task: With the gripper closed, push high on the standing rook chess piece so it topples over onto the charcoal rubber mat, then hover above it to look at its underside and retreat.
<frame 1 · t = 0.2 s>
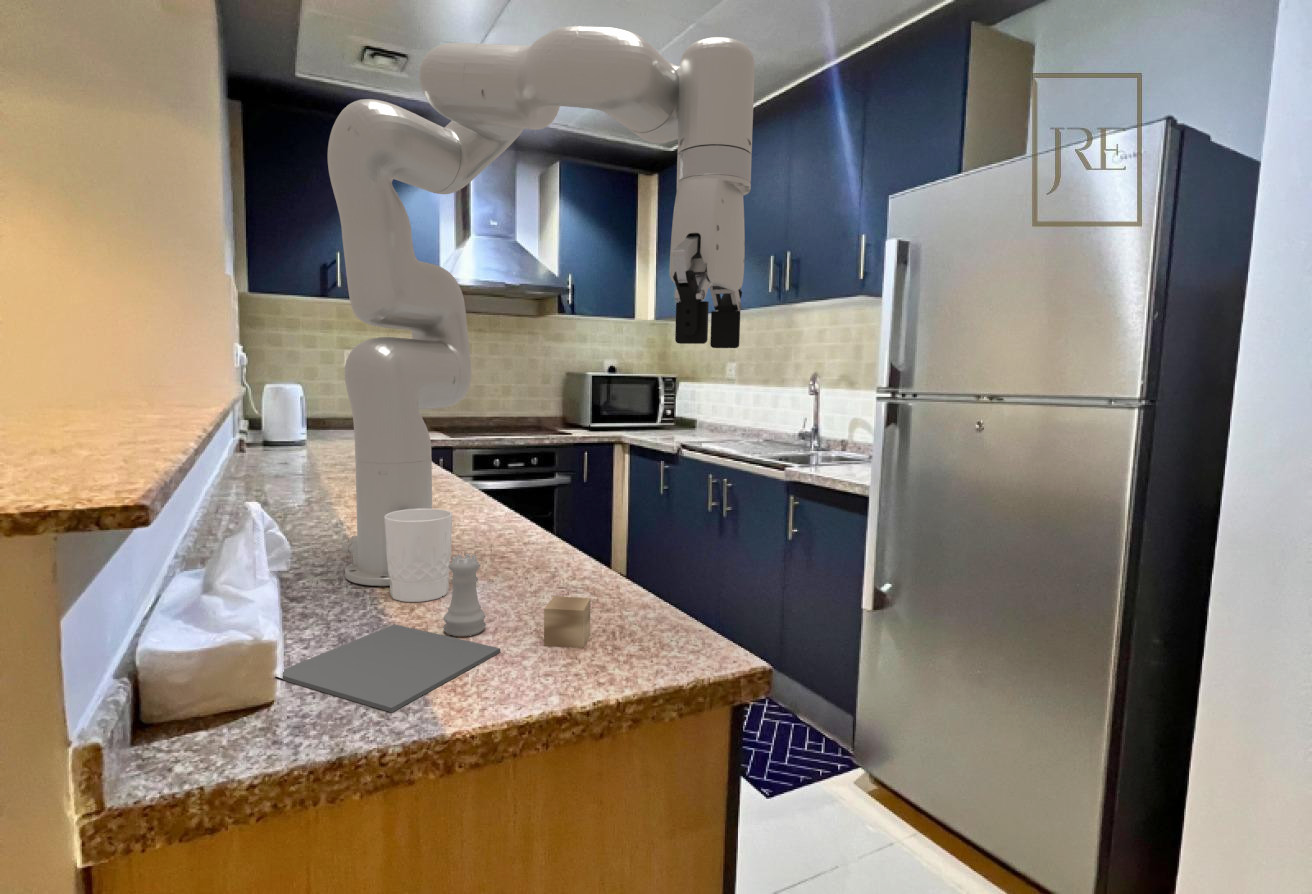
hand: (708, 345, 73), 31 cm above the counter, tool pointing down, fingers open, 9 cm apart
white cup: (419, 595, 86), on the counter
mat: (393, 664, 66), on the counter
rook chess piece: (464, 632, 75), on the counter
oak block: (567, 640, 73), on the counter
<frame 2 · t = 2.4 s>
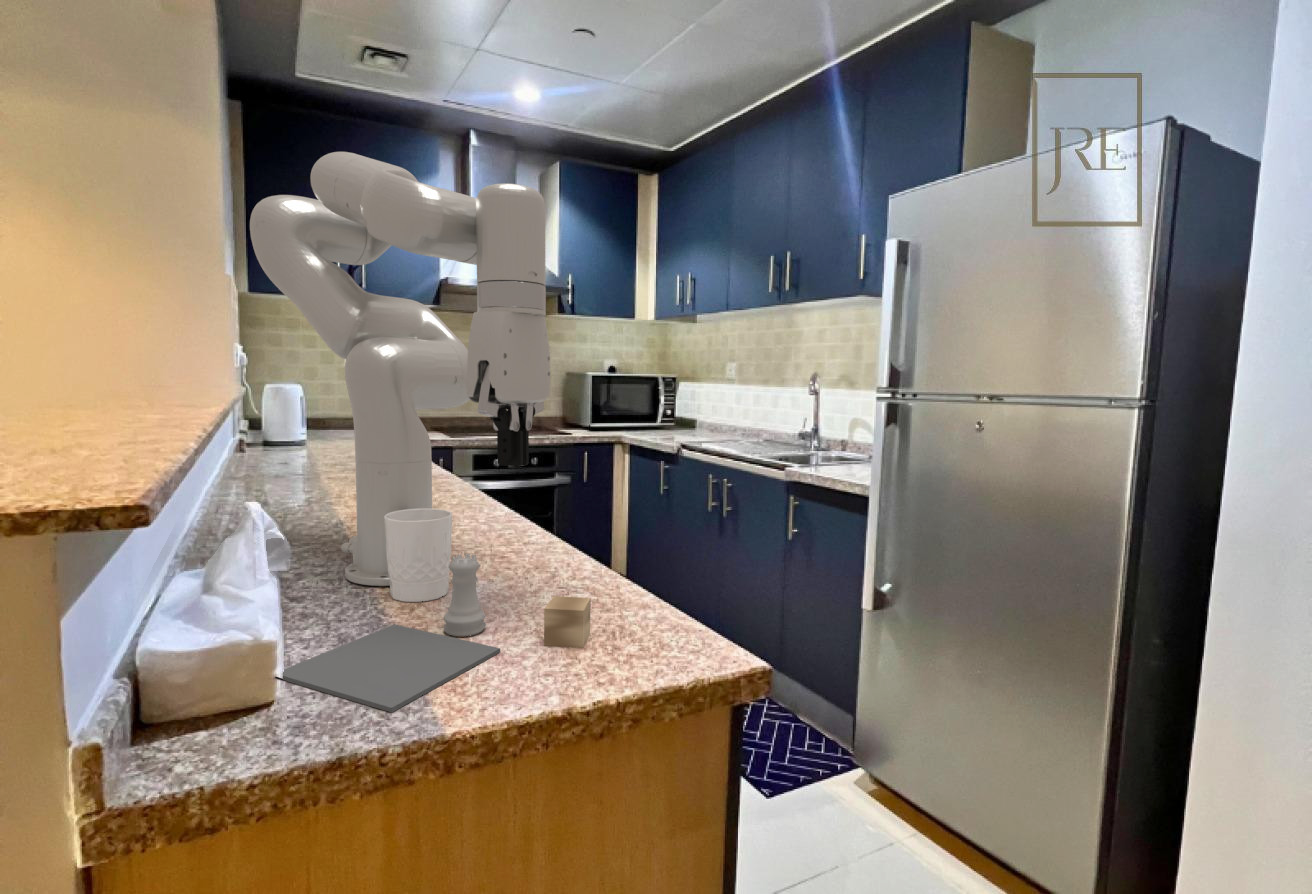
hand: (513, 464, 80), 17 cm above the counter, tool pointing down, fingers closed
nothing on the counter moved.
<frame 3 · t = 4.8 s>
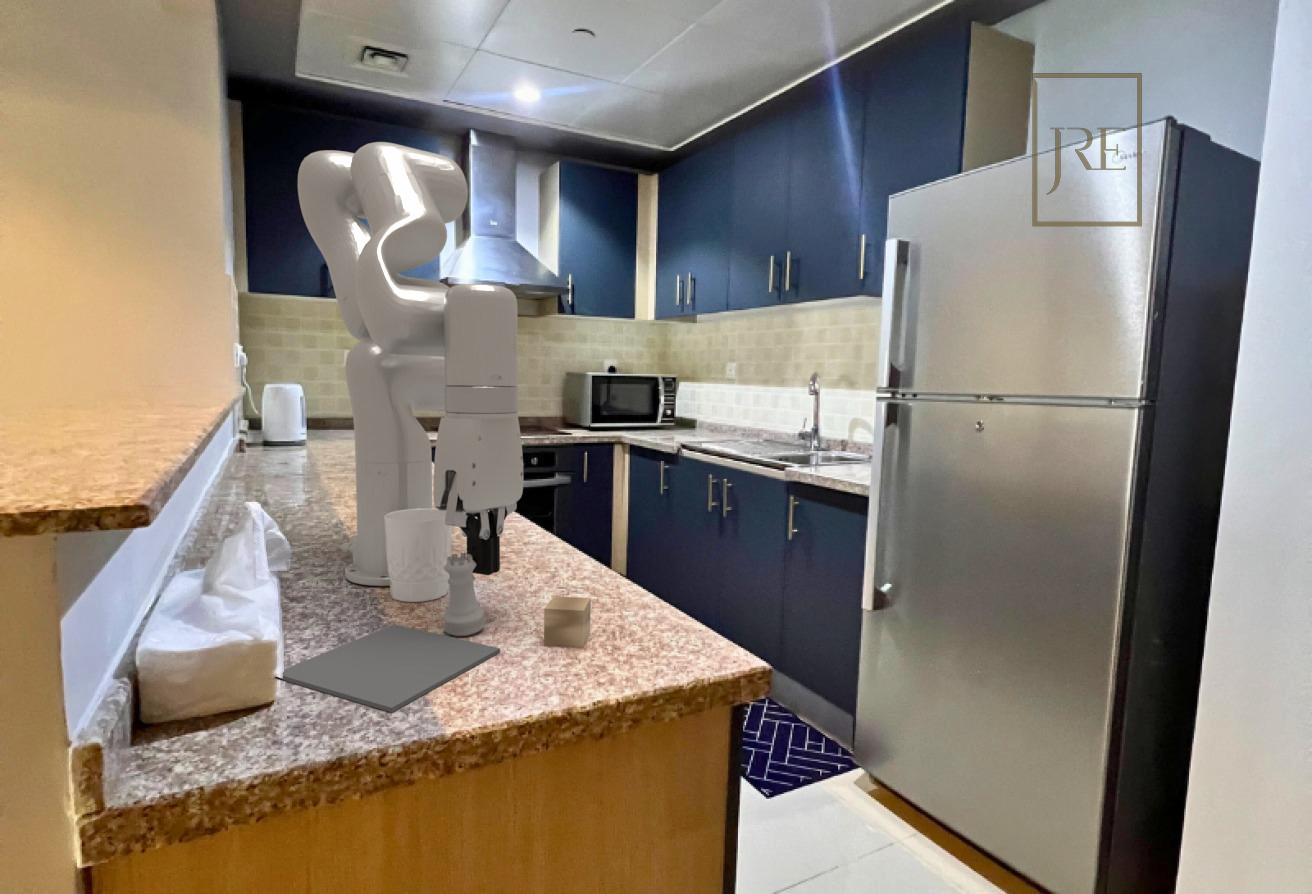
hand: (483, 571, 76), 6 cm above the counter, tool pointing down, fingers closed
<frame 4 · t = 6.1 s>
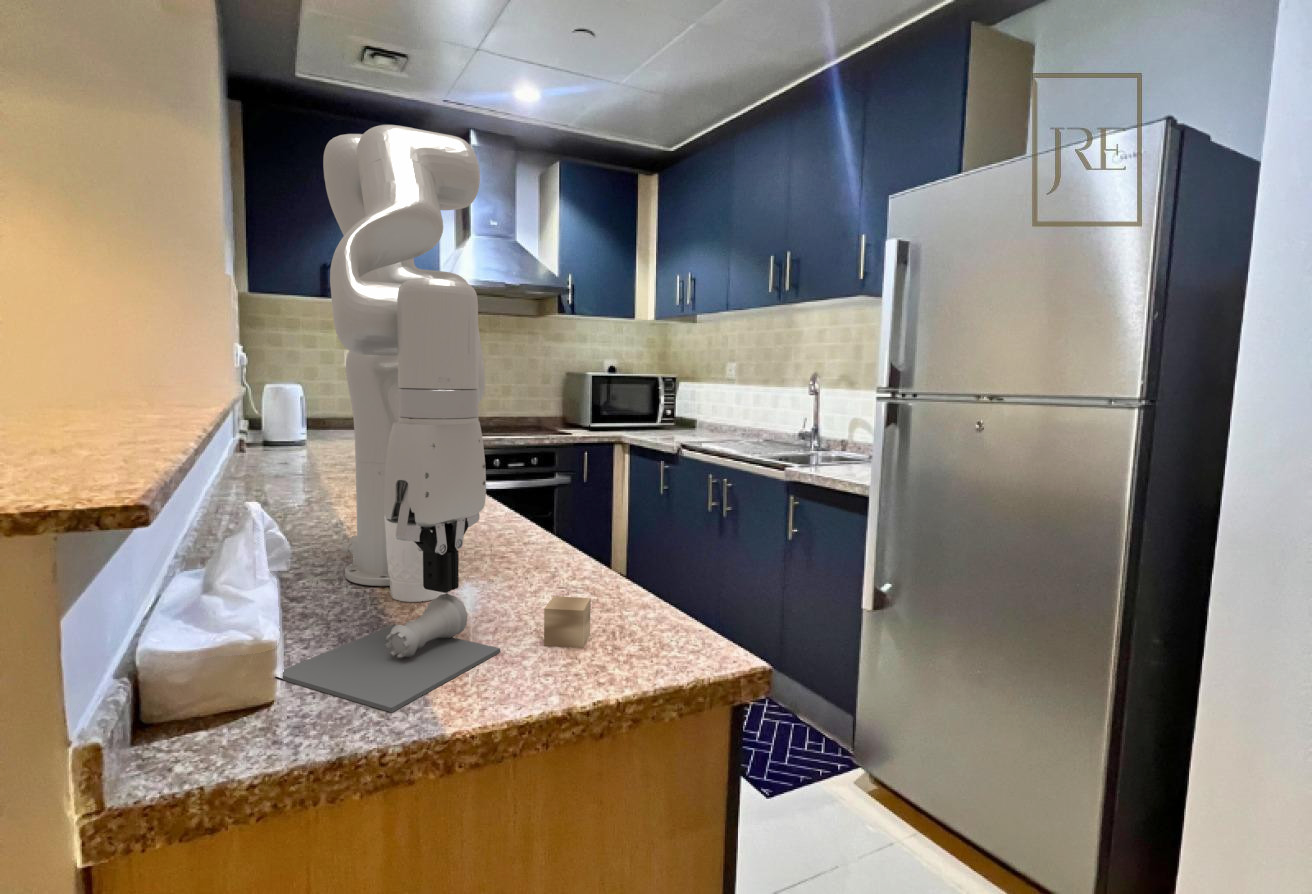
hand: (440, 588, 71), 6 cm above the counter, tool pointing down, fingers closed
rook chess piece: (453, 611, 72), point 3 cm above the counter, touching mat
everything else where it was.
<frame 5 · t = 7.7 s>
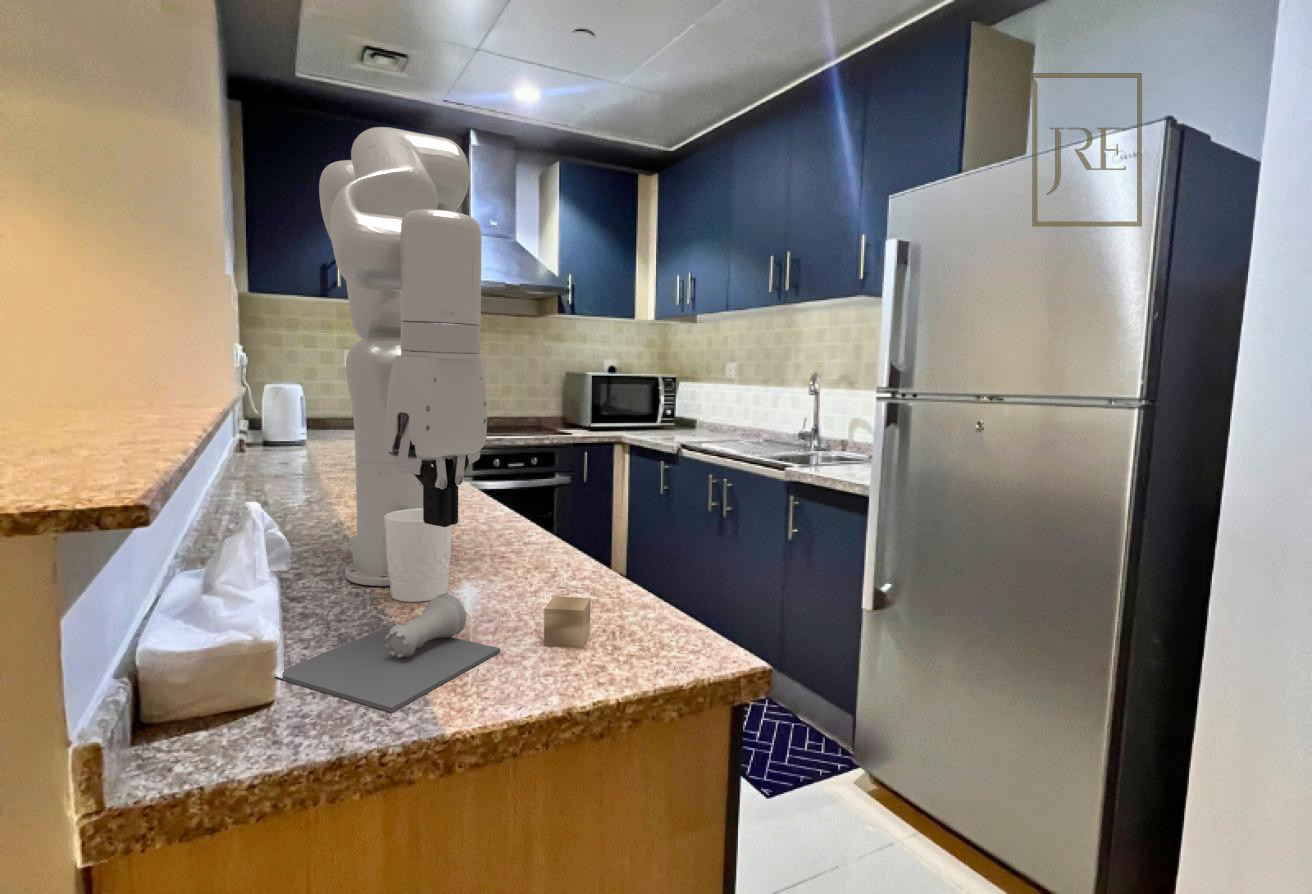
hand: (440, 523, 71), 12 cm above the counter, tool pointing down, fingers closed
nothing on the counter moved.
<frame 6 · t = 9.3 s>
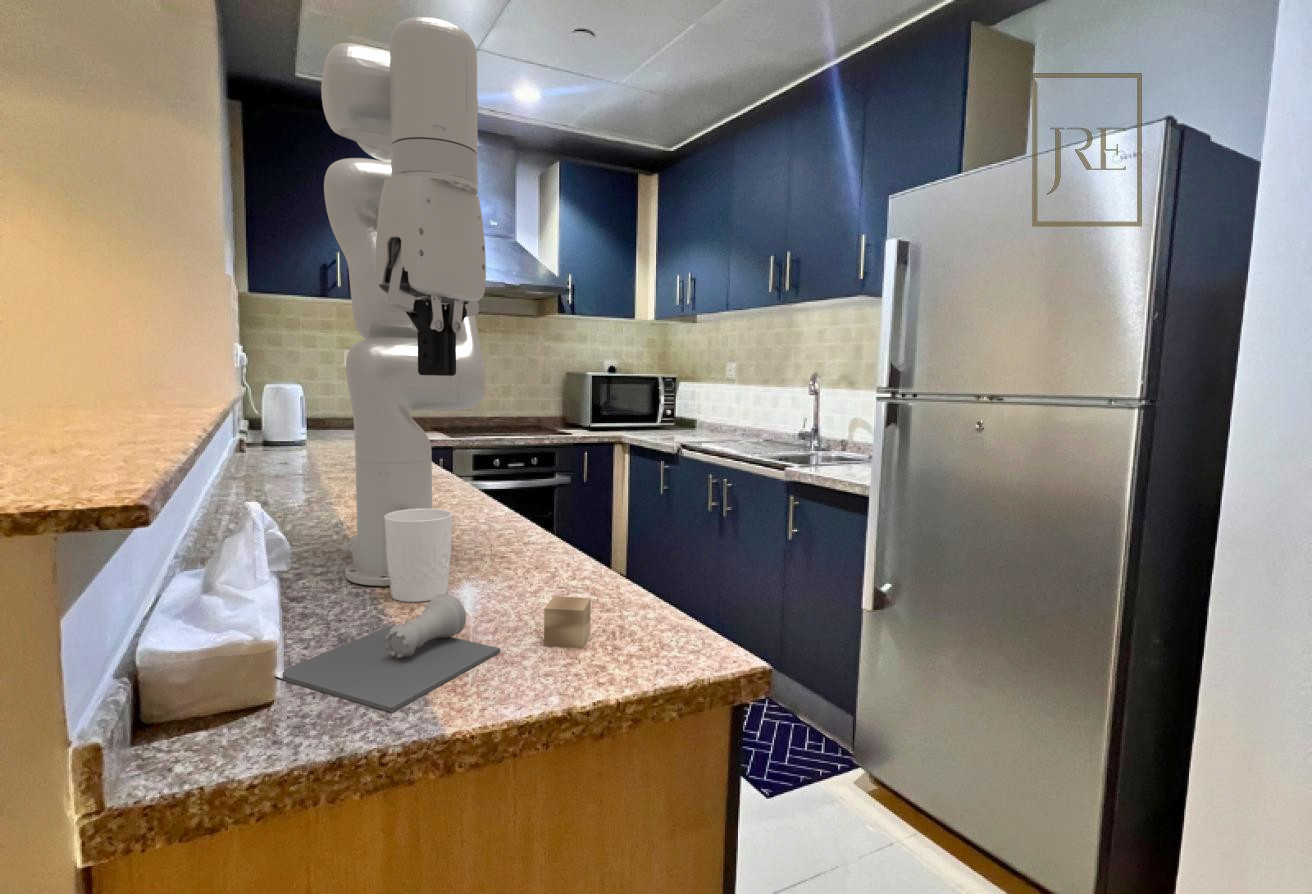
hand: (437, 374, 66), 27 cm above the counter, tool pointing down, fingers closed
nothing on the counter moved.
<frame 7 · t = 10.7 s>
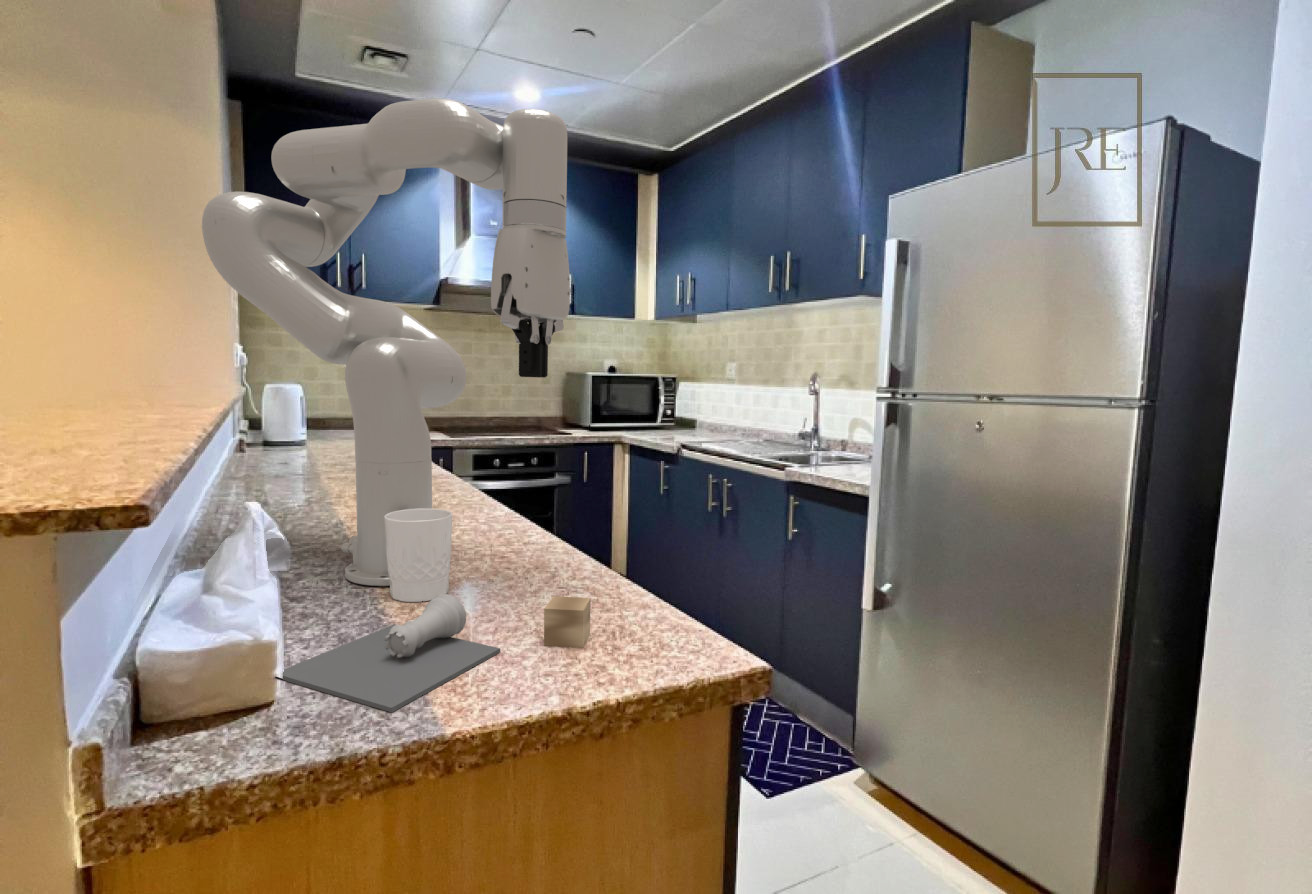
hand: (533, 376, 86), 27 cm above the counter, tool pointing down, fingers closed
nothing on the counter moved.
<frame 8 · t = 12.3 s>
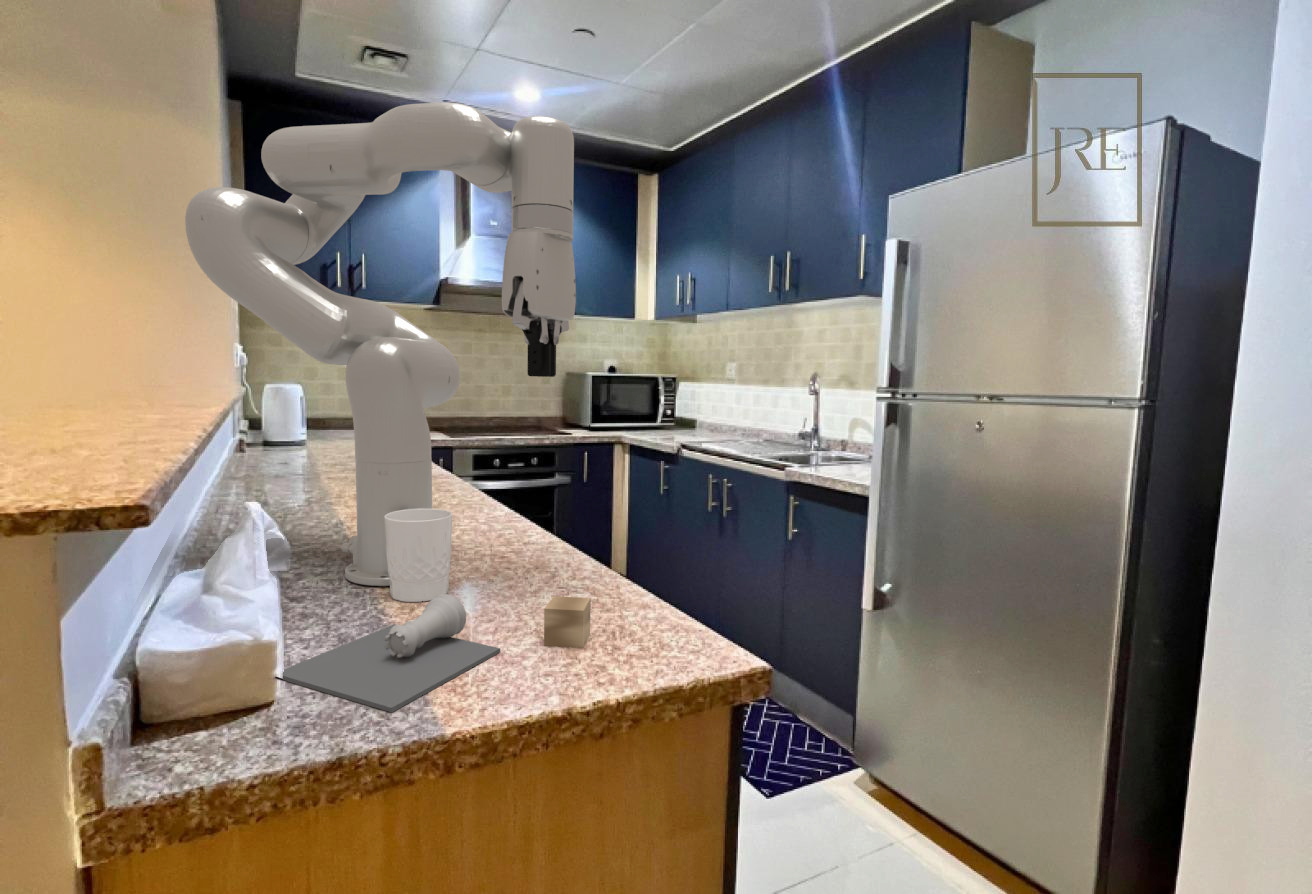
hand: (541, 376, 88), 27 cm above the counter, tool pointing down, fingers closed
nothing on the counter moved.
at the end: rook chess piece tilted 95°; rook chess piece inside the target area (6.9 cm from its centre), point 2.7 cm above the counter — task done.
